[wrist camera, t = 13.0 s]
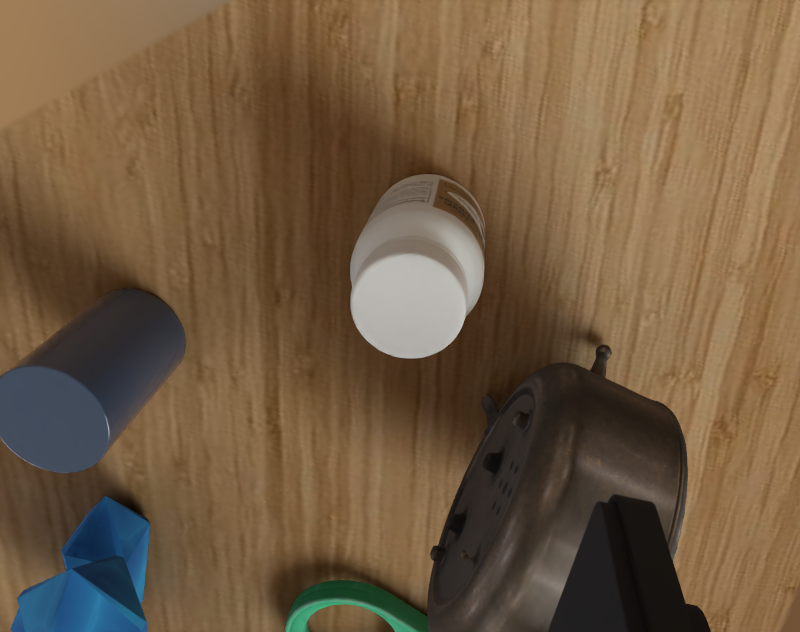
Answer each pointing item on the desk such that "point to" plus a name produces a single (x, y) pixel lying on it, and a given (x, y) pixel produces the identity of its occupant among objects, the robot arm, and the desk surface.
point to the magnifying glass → (397, 613)
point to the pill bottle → (418, 266)
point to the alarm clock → (549, 494)
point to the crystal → (94, 578)
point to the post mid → (89, 381)
